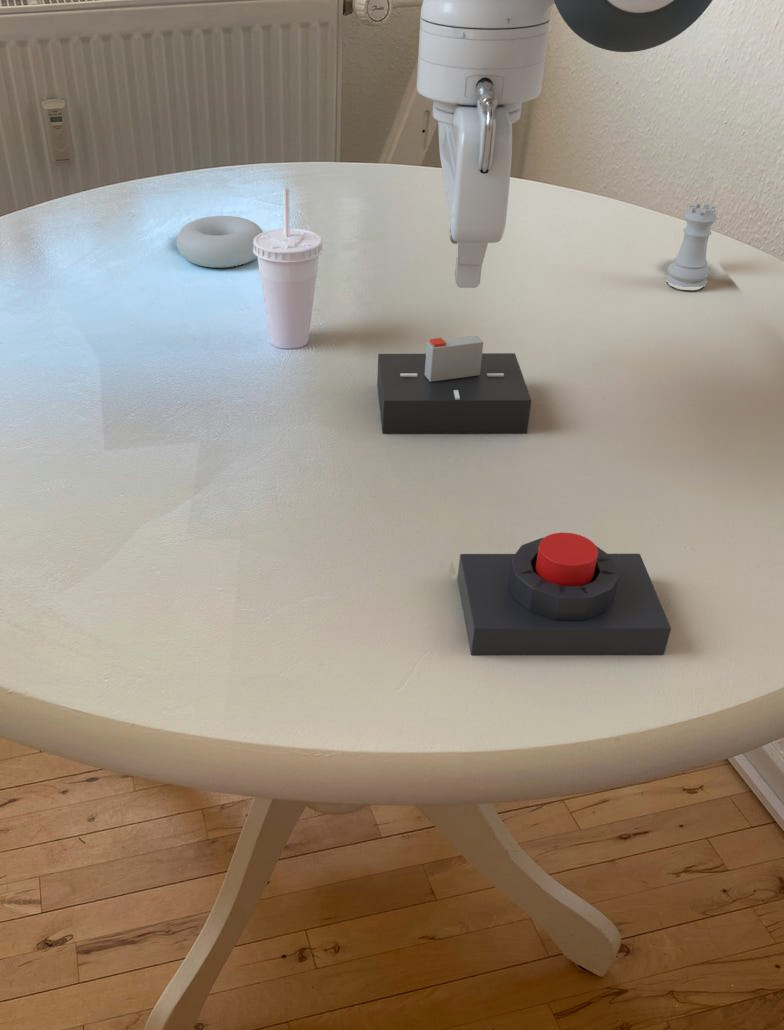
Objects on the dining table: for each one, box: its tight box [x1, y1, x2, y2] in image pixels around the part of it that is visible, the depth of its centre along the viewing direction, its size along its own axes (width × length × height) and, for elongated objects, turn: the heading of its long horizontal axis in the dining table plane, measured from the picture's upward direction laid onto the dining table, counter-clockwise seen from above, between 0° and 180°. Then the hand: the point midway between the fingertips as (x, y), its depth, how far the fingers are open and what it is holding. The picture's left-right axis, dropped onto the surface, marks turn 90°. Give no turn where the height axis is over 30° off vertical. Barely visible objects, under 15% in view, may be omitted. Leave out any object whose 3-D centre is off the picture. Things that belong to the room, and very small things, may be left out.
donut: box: [176, 215, 264, 269], centre depth 119 cm, size 10×4×10 cm
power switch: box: [456, 537, 672, 656], centre depth 68 cm, size 12×8×4 cm, turn 90°
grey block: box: [425, 335, 484, 382], centre depth 88 cm, size 4×1×3 cm, turn 106°
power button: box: [536, 532, 598, 586], centre depth 66 cm, size 4×4×2 cm
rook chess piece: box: [665, 202, 718, 287], centre depth 110 cm, size 4×4×8 cm
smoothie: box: [253, 186, 324, 350], centre depth 98 cm, size 6×6×14 cm
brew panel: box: [376, 352, 532, 434], centre depth 90 cm, size 12×9×3 cm
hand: (463, 261), depth 83 cm, fingers open, 8 cm apart
